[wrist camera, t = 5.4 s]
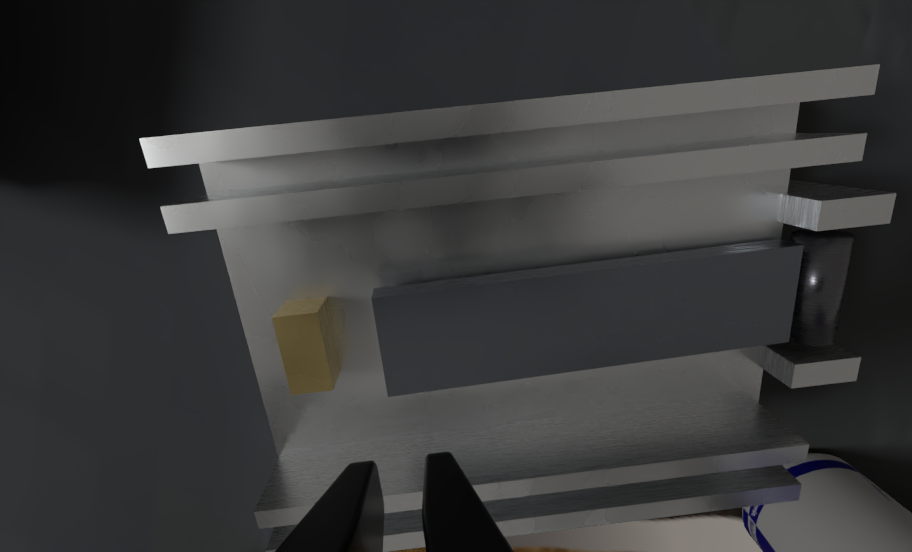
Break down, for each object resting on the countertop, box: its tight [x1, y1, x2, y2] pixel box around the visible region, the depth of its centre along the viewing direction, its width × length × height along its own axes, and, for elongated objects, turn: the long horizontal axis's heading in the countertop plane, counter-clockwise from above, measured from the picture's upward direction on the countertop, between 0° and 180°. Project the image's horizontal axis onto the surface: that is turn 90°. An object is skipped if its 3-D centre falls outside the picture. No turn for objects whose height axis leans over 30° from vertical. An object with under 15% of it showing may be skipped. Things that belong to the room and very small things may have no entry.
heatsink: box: [139, 64, 896, 552], centre depth 14 cm, size 12×18×6 cm, turn 95°
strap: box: [371, 229, 855, 397], centre depth 13 cm, size 3×14×1 cm, turn 95°
